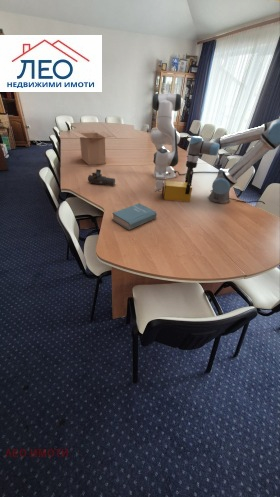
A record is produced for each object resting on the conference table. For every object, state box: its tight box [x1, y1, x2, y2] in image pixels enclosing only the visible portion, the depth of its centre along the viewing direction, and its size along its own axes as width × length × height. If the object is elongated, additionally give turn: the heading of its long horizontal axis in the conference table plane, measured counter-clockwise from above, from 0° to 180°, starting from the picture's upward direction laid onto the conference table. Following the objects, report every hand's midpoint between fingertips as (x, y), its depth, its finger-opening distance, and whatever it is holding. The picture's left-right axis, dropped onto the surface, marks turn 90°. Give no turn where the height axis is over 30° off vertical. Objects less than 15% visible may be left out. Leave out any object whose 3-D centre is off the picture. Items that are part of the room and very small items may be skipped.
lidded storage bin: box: [163, 180, 193, 203], centre depth 168 cm, size 19×11×11 cm, turn 86°
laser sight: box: [87, 168, 116, 186], centre depth 182 cm, size 10×22×10 cm, turn 78°
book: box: [112, 202, 158, 231], centre depth 138 cm, size 23×16×5 cm
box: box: [70, 129, 114, 166], centre depth 229 cm, size 44×36×27 cm
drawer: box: [154, 181, 165, 199], centre depth 168 cm, size 24×10×9 cm, turn 86°
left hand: (158, 191), depth 169 cm, fingers closed
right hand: (186, 191), depth 168 cm, fingers closed on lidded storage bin, 11 cm apart
